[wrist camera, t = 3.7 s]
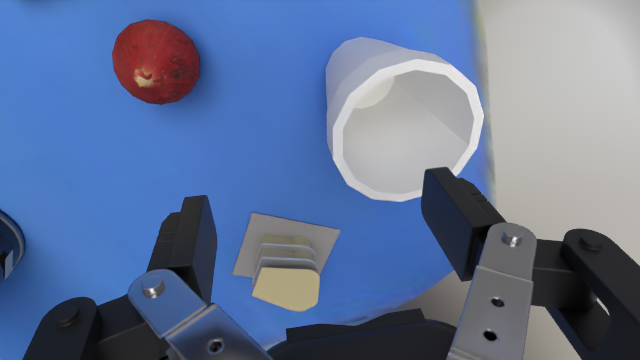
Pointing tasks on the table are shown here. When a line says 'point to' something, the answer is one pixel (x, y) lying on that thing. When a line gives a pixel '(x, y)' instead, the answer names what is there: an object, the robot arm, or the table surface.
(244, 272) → the stacked layers on plate
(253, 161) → the table surface
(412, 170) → the foam cup
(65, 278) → the table surface
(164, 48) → the onion
